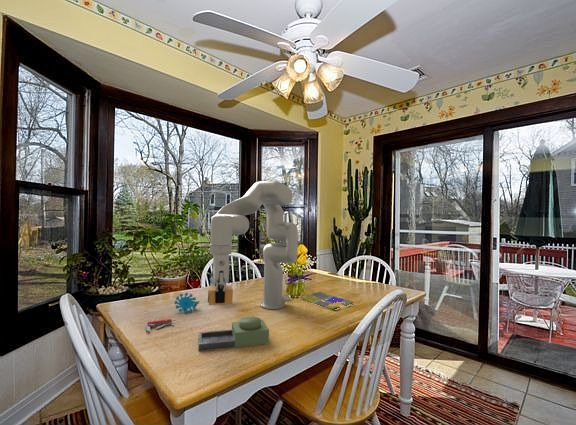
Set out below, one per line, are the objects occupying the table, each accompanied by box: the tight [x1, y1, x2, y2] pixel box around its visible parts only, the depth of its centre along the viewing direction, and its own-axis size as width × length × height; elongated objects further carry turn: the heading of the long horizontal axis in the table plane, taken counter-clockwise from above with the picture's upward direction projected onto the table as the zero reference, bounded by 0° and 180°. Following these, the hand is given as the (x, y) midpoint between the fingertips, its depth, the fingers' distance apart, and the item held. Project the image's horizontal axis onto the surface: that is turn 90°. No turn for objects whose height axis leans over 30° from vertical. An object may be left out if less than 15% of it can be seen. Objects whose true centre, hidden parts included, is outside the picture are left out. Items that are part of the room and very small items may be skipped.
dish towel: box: [301, 291, 354, 311], centre depth 155 cm, size 18×24×3 cm
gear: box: [174, 292, 200, 314], centre depth 136 cm, size 11×6×10 cm
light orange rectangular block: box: [207, 285, 234, 306], centre depth 103 cm, size 8×6×5 cm
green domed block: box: [231, 316, 270, 348], centre depth 107 cm, size 12×10×7 cm
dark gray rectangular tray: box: [197, 329, 236, 352], centre depth 103 cm, size 12×10×2 cm
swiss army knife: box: [146, 317, 177, 332], centre depth 117 cm, size 12×14×2 cm
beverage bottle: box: [209, 264, 227, 286], centre depth 153 cm, size 8×8×20 cm
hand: (219, 299), depth 103 cm, fingers closed on light orange rectangular block, 6 cm apart
